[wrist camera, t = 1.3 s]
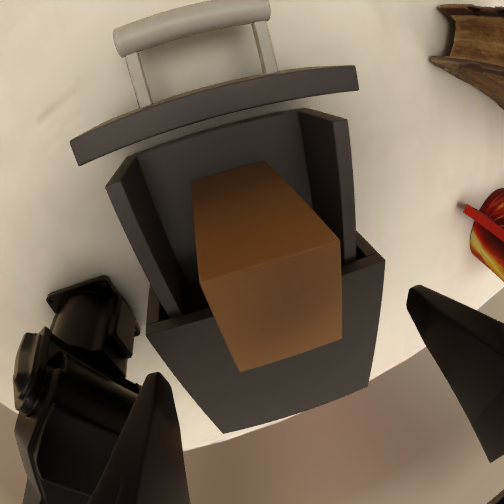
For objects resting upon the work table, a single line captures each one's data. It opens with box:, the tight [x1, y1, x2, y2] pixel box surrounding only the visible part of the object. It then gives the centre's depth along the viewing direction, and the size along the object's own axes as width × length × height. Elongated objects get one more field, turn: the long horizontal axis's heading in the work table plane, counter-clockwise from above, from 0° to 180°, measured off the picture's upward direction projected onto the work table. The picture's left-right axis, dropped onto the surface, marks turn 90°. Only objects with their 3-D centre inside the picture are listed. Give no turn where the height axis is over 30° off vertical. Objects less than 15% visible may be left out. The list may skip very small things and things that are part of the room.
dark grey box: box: [146, 231, 385, 434], centre depth 22 cm, size 15×14×8 cm
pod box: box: [191, 161, 342, 372], centre depth 14 cm, size 4×5×10 cm
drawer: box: [70, 0, 359, 319], centre depth 15 cm, size 18×12×6 cm
